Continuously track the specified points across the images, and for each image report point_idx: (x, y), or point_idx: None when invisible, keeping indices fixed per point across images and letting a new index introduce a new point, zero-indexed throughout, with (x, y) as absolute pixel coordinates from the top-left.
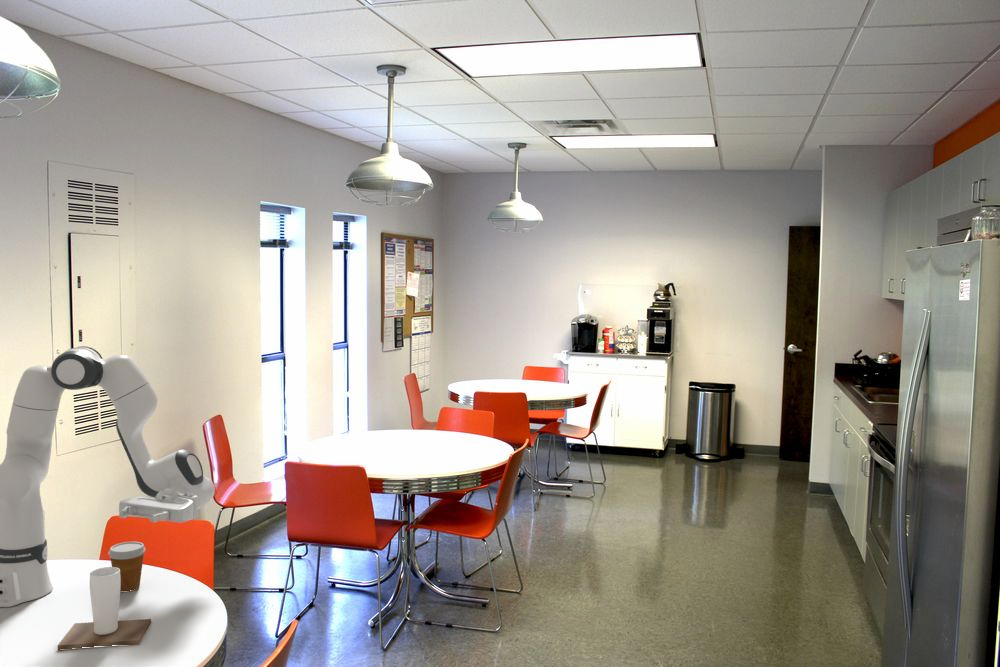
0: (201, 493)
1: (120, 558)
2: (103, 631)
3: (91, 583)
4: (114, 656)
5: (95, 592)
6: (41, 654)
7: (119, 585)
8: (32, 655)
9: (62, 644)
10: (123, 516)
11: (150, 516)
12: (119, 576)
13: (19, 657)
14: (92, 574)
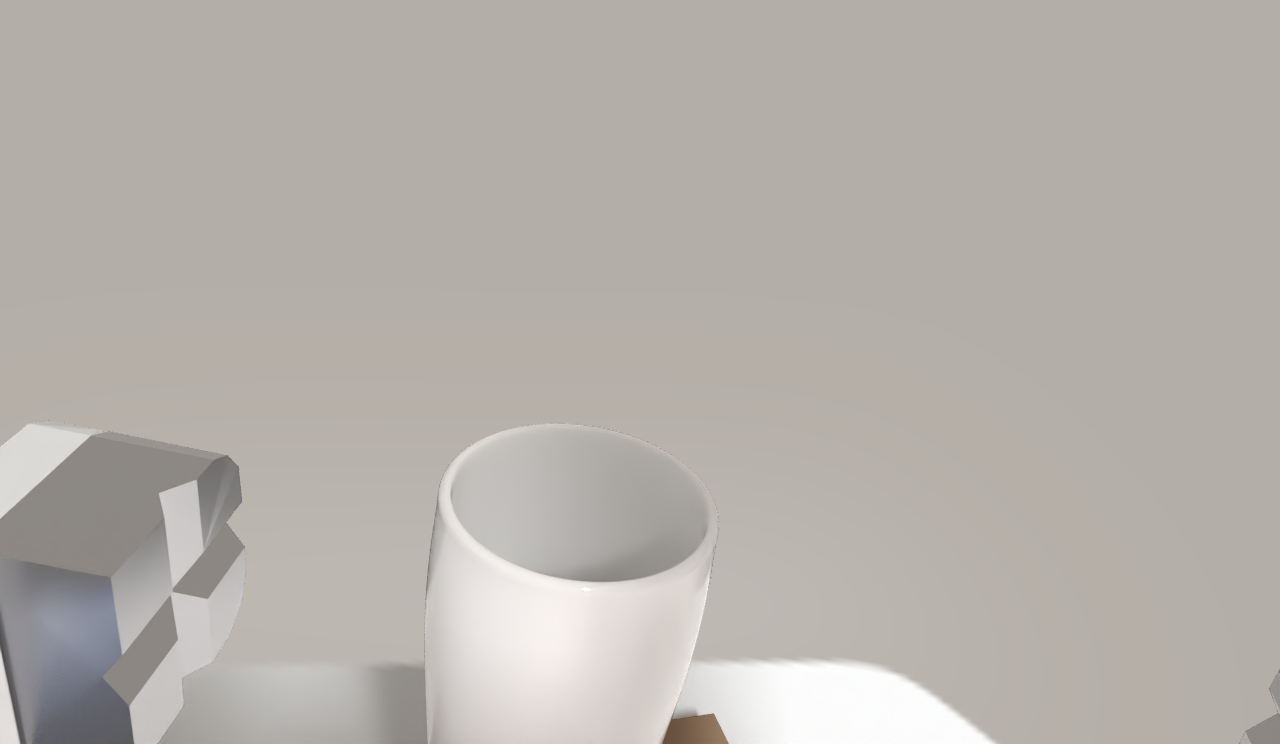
0: None
1: None
2: None
3: (635, 497)
4: (315, 683)
5: (579, 542)
6: (761, 697)
7: (425, 612)
8: (799, 687)
9: (692, 722)
10: (1247, 741)
11: (213, 457)
12: (433, 543)
13: (847, 670)
14: (699, 522)
